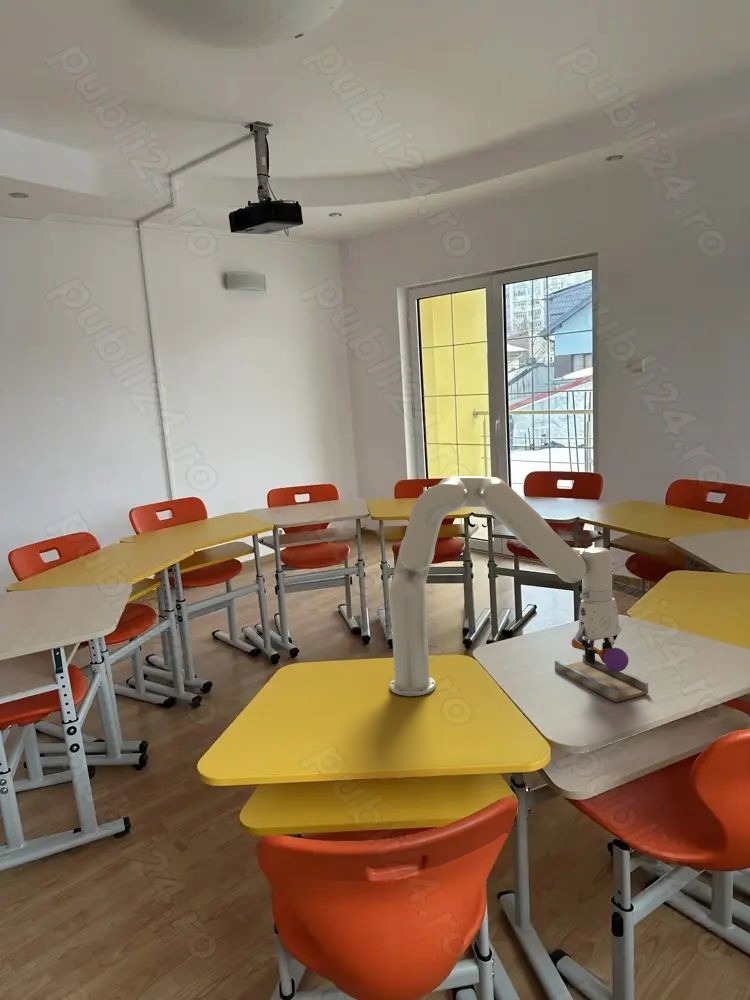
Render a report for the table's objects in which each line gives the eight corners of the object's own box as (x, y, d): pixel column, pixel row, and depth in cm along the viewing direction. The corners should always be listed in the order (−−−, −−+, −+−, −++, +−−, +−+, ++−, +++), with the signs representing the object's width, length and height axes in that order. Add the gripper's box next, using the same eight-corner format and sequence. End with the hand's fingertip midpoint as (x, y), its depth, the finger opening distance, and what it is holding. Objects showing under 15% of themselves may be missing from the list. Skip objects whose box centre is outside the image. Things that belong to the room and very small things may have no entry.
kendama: (586, 631, 189) (634, 651, 170) (584, 652, 189) (632, 674, 170) (568, 631, 187) (614, 651, 168) (566, 652, 187) (612, 674, 168)
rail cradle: (554, 670, 188) (554, 661, 188) (585, 663, 192) (584, 654, 192) (615, 702, 166) (615, 691, 166) (648, 693, 170) (648, 682, 170)
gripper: (580, 603, 170) (582, 671, 172) (632, 592, 176) (634, 658, 178) (561, 596, 176) (563, 662, 179) (612, 586, 183) (614, 650, 185)
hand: (598, 659), depth 178 cm, fingers closed on kendama, 5 cm apart
